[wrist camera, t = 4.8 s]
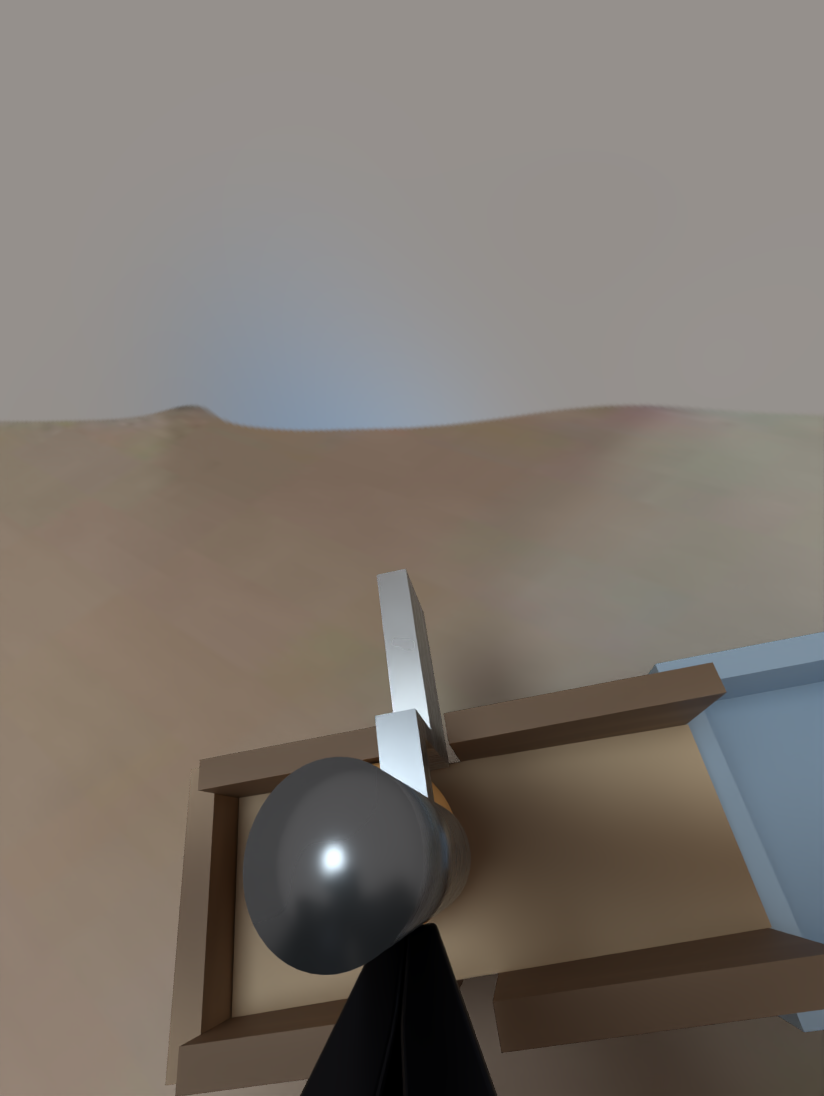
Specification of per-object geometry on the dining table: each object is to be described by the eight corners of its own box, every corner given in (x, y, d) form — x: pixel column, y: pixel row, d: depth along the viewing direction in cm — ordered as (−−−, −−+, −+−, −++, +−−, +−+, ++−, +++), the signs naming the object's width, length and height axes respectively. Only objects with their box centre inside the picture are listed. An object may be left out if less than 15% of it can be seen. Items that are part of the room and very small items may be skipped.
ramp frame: (720, 937, 15) (876, 1002, 9) (296, 1000, 17) (140, 1101, 10) (645, 731, 19) (715, 661, 12) (293, 795, 20) (173, 764, 13)
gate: (491, 892, 12) (437, 958, 4) (418, 903, 13) (239, 989, 5) (439, 609, 16) (361, 379, 8) (384, 621, 16) (256, 405, 9)
